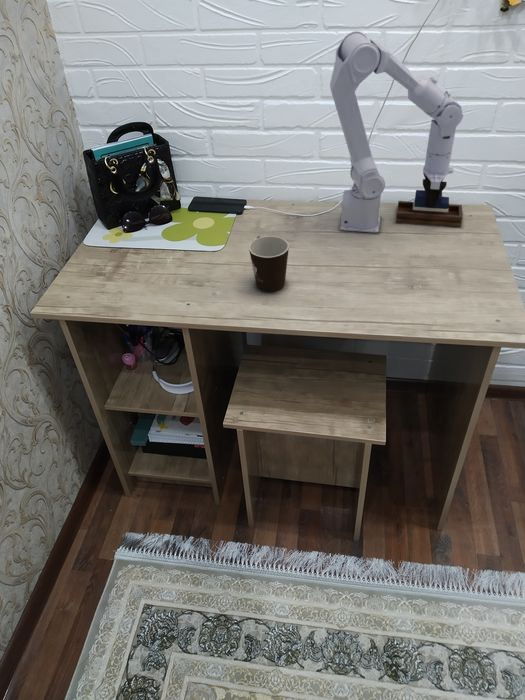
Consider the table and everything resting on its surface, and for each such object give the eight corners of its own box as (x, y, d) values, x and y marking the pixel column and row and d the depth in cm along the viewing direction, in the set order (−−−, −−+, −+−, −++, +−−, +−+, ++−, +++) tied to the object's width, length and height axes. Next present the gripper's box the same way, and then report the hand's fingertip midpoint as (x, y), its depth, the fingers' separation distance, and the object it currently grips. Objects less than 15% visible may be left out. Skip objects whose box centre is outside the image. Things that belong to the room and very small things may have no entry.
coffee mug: (288, 296, 126) (287, 258, 119) (249, 295, 127) (246, 257, 120) (292, 266, 134) (291, 229, 127) (255, 265, 135) (253, 228, 128)
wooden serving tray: (395, 222, 146) (396, 214, 145) (397, 207, 152) (398, 199, 150) (460, 227, 143) (462, 218, 141) (460, 212, 149) (461, 203, 147)
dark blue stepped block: (412, 210, 145) (414, 196, 143) (413, 202, 148) (415, 189, 145) (447, 212, 143) (450, 198, 141) (447, 205, 146) (450, 191, 144)
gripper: (457, 164, 130) (446, 218, 139) (456, 139, 140) (447, 190, 149) (425, 163, 131) (417, 216, 140) (426, 137, 141) (419, 188, 151)
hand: (430, 202), depth 145 cm, fingers closed on dark blue stepped block, 3 cm apart
